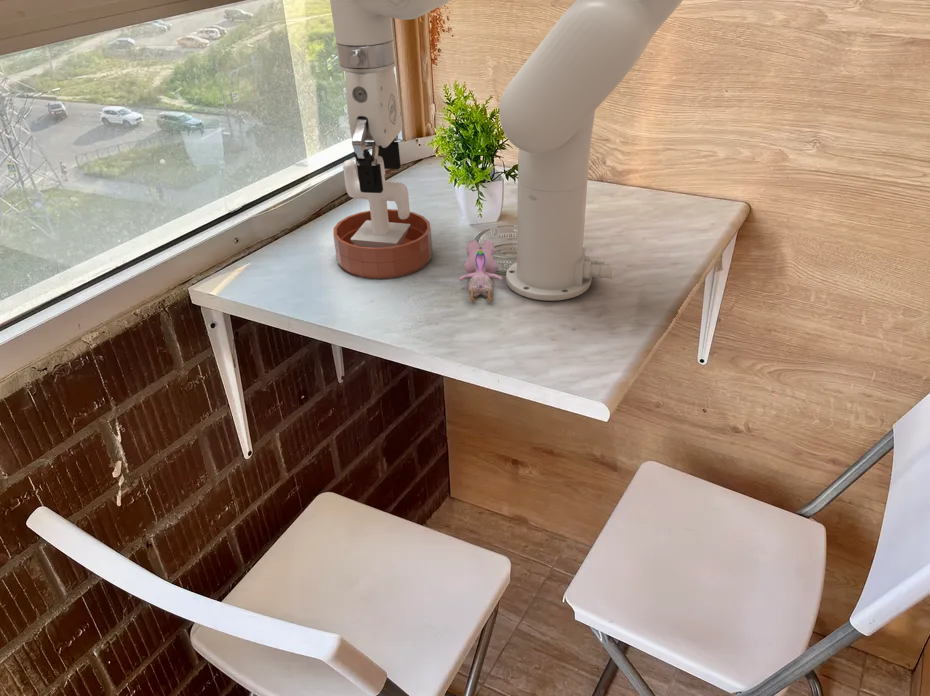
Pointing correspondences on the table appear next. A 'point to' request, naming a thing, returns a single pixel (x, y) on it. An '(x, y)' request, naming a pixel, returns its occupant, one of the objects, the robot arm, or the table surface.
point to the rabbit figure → (480, 269)
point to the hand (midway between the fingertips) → (381, 179)
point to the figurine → (379, 210)
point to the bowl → (384, 258)
